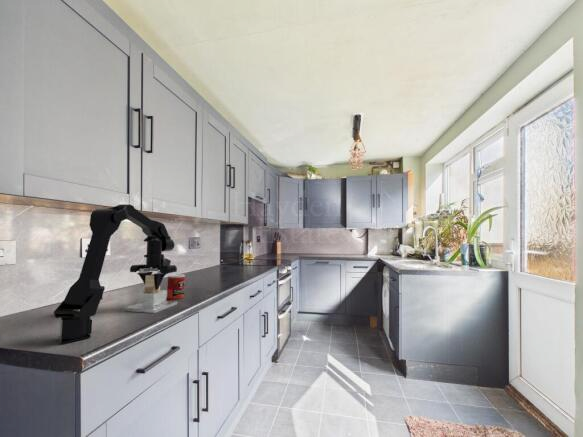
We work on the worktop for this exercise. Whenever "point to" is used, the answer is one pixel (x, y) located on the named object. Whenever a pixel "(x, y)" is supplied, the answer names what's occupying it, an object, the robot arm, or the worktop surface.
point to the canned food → (176, 286)
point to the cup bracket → (151, 302)
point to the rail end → (150, 284)
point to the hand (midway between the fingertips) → (152, 289)
